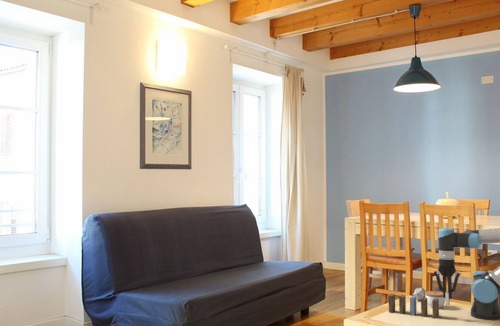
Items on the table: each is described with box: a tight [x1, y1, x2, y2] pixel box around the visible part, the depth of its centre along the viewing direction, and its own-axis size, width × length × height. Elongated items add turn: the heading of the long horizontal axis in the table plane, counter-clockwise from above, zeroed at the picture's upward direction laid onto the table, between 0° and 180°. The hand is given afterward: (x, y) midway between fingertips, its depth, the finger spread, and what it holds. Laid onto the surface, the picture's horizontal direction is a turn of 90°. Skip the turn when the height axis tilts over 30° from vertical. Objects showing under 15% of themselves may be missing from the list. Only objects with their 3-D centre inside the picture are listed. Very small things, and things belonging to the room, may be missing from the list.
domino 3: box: [409, 295, 417, 316], centre depth 271 cm, size 2×5×9 cm, turn 148°
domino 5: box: [432, 299, 440, 319], centre depth 265 cm, size 2×5×9 cm, turn 148°
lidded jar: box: [425, 289, 446, 309], centre depth 286 cm, size 11×11×9 cm
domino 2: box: [398, 294, 407, 315], centre depth 274 cm, size 2×5×9 cm, turn 148°
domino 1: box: [388, 293, 396, 314], centre depth 277 cm, size 2×5×9 cm, turn 148°
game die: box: [411, 286, 427, 302], centre depth 301 cm, size 9×8×10 cm
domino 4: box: [420, 297, 429, 318], centre depth 268 cm, size 2×5×9 cm, turn 148°
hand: (447, 304), depth 262 cm, fingers closed
